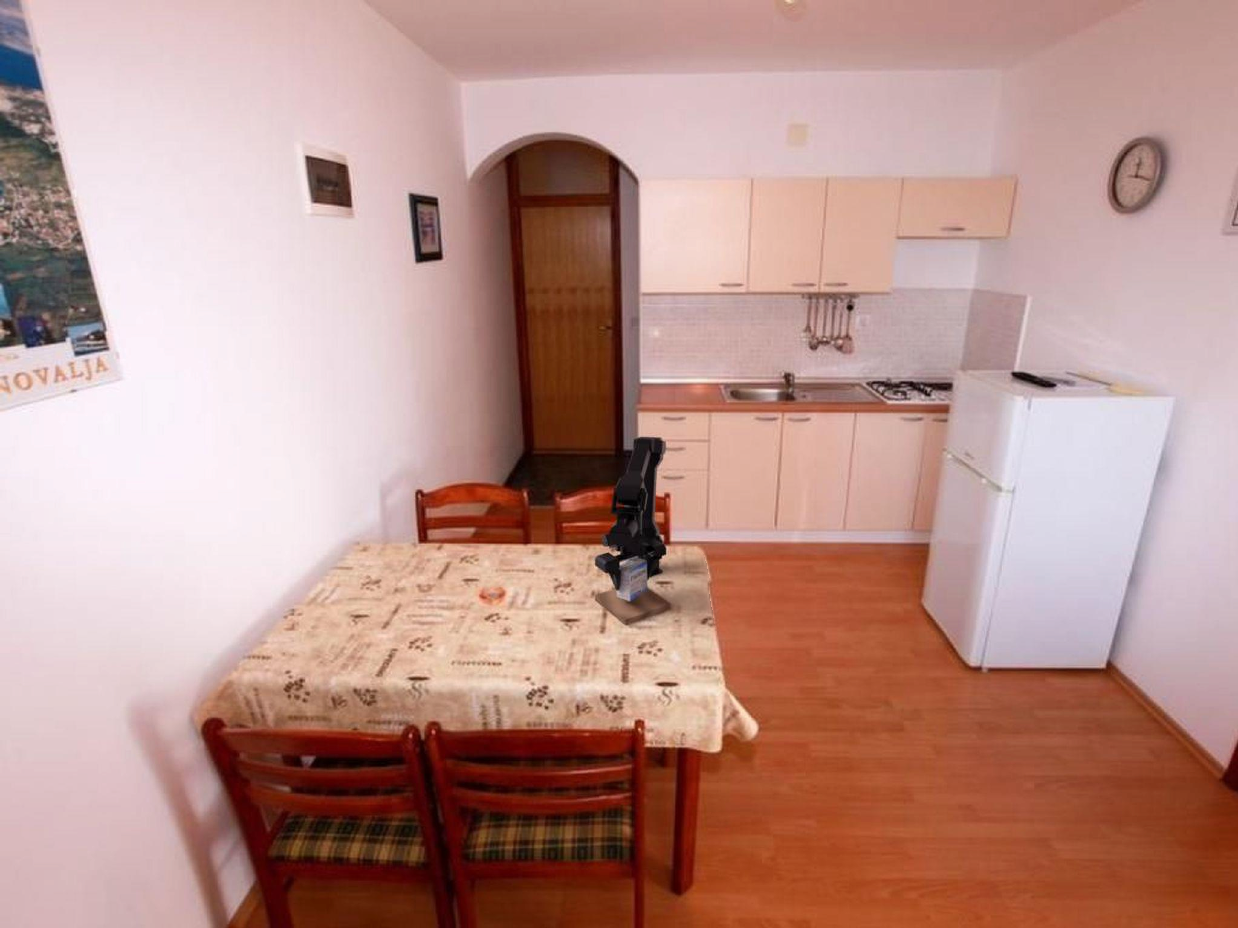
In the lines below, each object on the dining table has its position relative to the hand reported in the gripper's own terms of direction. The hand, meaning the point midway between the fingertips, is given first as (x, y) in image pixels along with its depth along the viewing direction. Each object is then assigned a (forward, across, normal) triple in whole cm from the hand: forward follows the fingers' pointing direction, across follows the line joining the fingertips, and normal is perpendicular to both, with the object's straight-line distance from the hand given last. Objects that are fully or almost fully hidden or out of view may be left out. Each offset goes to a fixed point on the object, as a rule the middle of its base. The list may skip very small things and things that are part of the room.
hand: (631, 584), depth 171 cm
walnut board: (+6, 0, 0) cm, 6 cm away
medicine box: (+3, 0, 0) cm, 3 cm away
